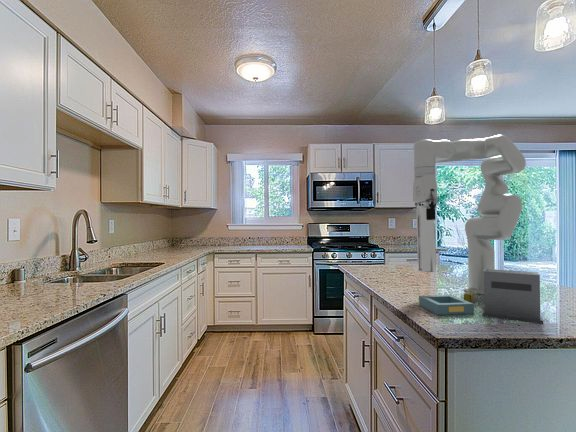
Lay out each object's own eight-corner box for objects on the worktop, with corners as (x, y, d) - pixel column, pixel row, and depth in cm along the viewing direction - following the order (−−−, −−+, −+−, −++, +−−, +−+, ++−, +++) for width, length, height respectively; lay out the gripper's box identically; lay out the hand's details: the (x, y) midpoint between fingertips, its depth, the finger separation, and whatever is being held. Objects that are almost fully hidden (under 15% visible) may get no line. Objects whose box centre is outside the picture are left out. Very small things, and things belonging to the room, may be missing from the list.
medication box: (470, 298, 124) (470, 287, 124) (478, 298, 122) (478, 288, 122) (463, 304, 114) (463, 293, 115) (472, 305, 113) (471, 294, 113)
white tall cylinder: (438, 272, 117) (436, 204, 117) (419, 272, 118) (418, 205, 118) (433, 269, 123) (432, 205, 124) (416, 269, 125) (414, 205, 125)
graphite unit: (482, 310, 106) (481, 268, 106) (539, 316, 98) (538, 271, 99) (482, 316, 99) (481, 271, 100) (543, 324, 92) (542, 275, 92)
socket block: (451, 304, 113) (451, 294, 113) (474, 314, 101) (474, 303, 101) (419, 305, 112) (418, 295, 112) (438, 316, 100) (438, 305, 100)
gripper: (404, 175, 129) (405, 219, 129) (427, 169, 112) (428, 219, 112) (422, 175, 130) (423, 219, 130) (447, 169, 113) (448, 219, 113)
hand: (425, 219), depth 121 cm, fingers closed on white tall cylinder, 6 cm apart
